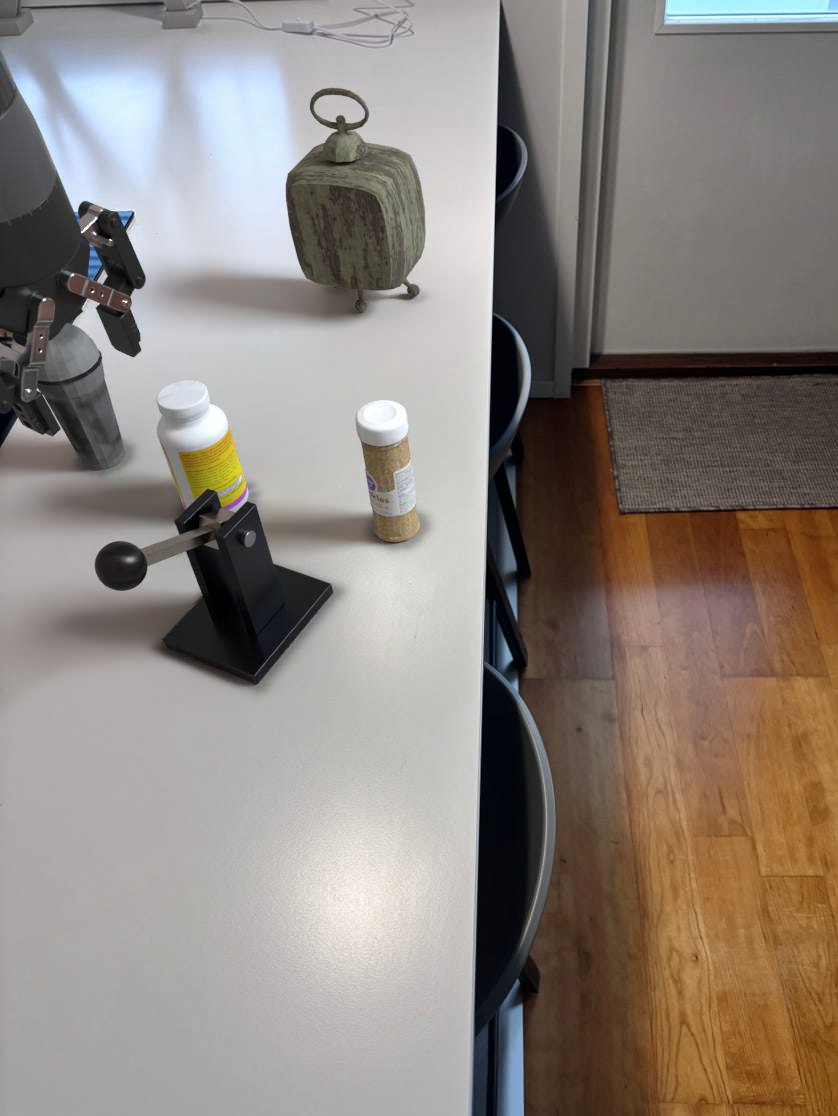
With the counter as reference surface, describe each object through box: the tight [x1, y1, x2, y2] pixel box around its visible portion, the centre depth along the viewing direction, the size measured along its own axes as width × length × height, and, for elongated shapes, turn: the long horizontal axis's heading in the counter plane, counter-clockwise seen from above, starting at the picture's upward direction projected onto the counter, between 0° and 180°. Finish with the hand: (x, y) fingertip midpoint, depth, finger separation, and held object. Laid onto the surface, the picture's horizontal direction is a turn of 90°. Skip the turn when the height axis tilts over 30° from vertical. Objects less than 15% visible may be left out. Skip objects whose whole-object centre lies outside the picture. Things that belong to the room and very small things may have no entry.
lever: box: [94, 508, 236, 592], centre depth 76 cm, size 14×4×4 cm, turn 152°
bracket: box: [161, 489, 334, 685], centre depth 84 cm, size 12×10×13 cm
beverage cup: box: [24, 322, 126, 471], centre depth 98 cm, size 7×7×20 cm
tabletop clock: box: [285, 87, 427, 313], centre depth 115 cm, size 14×9×25 cm, turn 72°
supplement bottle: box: [155, 379, 249, 512], centre depth 95 cm, size 7×7×13 cm
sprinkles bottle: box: [354, 399, 421, 543], centre depth 91 cm, size 5×5×13 cm
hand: (88, 389), depth 69 cm, fingers open, 8 cm apart
